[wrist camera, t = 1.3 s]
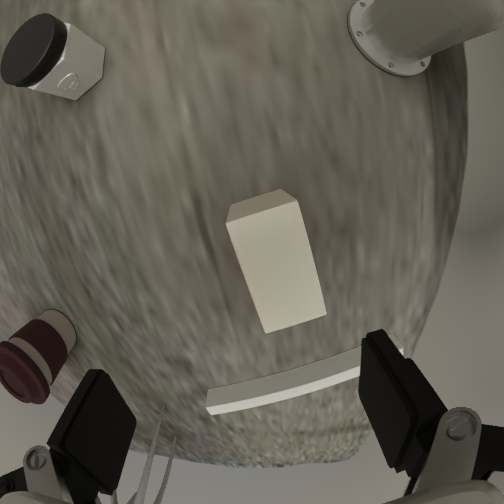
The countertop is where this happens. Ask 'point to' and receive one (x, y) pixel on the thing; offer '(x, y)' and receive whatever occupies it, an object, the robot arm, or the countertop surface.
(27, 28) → the jar
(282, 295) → the box
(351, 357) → the rail
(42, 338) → the coffee cup
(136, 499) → the juicer
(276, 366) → the countertop surface
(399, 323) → the countertop surface
